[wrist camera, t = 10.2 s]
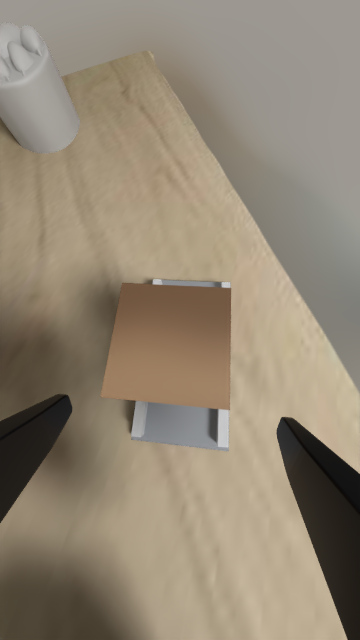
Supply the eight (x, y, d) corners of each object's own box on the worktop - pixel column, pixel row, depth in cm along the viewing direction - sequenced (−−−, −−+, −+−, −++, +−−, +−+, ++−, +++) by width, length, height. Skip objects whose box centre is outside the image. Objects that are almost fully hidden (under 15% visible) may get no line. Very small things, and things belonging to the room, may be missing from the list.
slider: (227, 448, 16) (230, 455, 15) (134, 437, 17) (127, 443, 15) (229, 286, 21) (232, 277, 19) (155, 283, 22) (151, 274, 20)
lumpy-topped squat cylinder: (66, 95, 34) (25, 4, 26) (91, 137, 30) (52, 45, 22) (8, 118, 33) (-53, 31, 25) (27, 164, 29) (-39, 79, 21)
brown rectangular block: (214, 398, 17) (254, 431, 6) (152, 392, 17) (75, 412, 6) (216, 341, 18) (250, 276, 7) (159, 337, 19) (106, 270, 8)
